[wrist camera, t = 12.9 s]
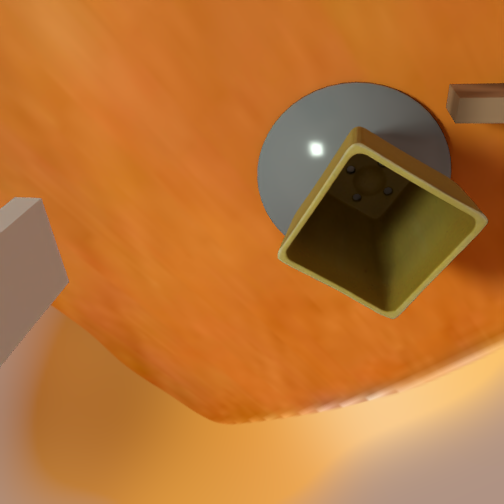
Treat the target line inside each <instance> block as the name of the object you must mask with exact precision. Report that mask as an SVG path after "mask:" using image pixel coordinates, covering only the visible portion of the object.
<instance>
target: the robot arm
mask: <svg viewBox="0 0 504 504" xmlns="http://www.w3.org/2000/svg"><path fill="white" fill-rule="evenodd" d="M68 283H69V280H68V277H67V274H66V271H65V268H64V265H63V262H62V259H61V256H60V253H59V250H58V247H57V244H56V241H55V238H54V235H53V232H52V229H51V226H50V223H49V220H48V217H47V214H46V211H45V208H44V205H43V202H42V199H41V198H21V197H15V198H13V199H12V200H11V201H10V202H8V203H7V204H6V205H4V206H3V207H2V208H1V209H0V367H1V366H2V364H3V363H4V362H5V361H6V359H7V358H8V357H9V356H10V354H11V353H12V352H13V351H14V349H15V348H16V347H17V346H18V344H19V343H20V342H21V341H22V340H23V338H24V337H25V336H26V334H27V333H28V332H29V331H30V330H31V328H32V327H33V326H34V325H35V323H36V322H37V321H38V320H39V319H40V317H41V316H42V315H43V314H44V312H45V311H46V310H47V309H48V307H49V306H50V305H51V304H52V302H53V301H54V300H55V299H56V297H57V296H58V295H59V294H60V292H61V291H62V290H63V289H64V288H65V286H66V285H67V284H68Z"/></svg>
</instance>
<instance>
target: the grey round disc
mask: <svg viewBox="0 0 504 504" xmlns="http://www.w3.org/2000/svg"><path fill="white" fill-rule="evenodd" d="M358 126H360V127H363V128H365V129H367V130H369V131H370V132H372V133H374V134H375V135H377V136H379V137H380V138H382V139H383V140H385V141H387V142H388V143H390V144H392V145H393V146H395V147H397V148H398V149H400V150H402V151H403V152H405V153H407V154H408V155H410V156H412V157H414V158H415V159H417V160H419V161H421V162H422V163H424V164H426V165H428V166H429V167H431V168H433V169H435V170H436V171H438V172H440V173H442V174H443V175H445V176H447V177H448V178H451V158H450V153H449V148H448V145H447V142H446V140H445V137H444V134H443V133H442V131H441V129H440V127H439V125H438V124H437V122H436V121H435V119H434V118H433V117H432V115H431V114H430V113H429V112H428V111H427V110H426V109H425V108H424V107H423V106H422V105H421V104H420V103H418V102H417V101H416V100H414V99H413V98H411V97H410V96H408V95H406V94H404V93H402V92H400V91H398V90H396V89H393V88H390V87H387V86H384V85H380V84H374V83H367V82H349V83H340V84H335V85H331V86H327V87H324V88H322V89H319V90H316V91H314V92H312V93H310V94H308V95H306V96H304V97H303V98H301V99H300V100H298V101H297V102H295V103H294V104H293V105H291V106H290V107H289V108H288V109H287V110H286V111H285V112H284V113H283V114H282V115H281V116H280V117H279V119H278V120H277V121H276V122H275V124H274V125H273V127H272V128H271V130H270V131H269V133H268V135H267V137H266V140H265V142H264V144H263V146H262V150H261V153H260V156H259V163H258V187H259V192H260V196H261V200H262V203H263V205H264V207H265V210H266V212H267V213H268V215H269V217H270V219H271V220H272V222H273V223H274V224H275V225H276V227H277V228H278V229H279V230H280V231H281V232H282V233H283V234H284V235H286V233H287V231H288V228H289V226H290V224H291V222H292V219H293V217H294V215H295V214H296V212H297V211H298V209H299V208H300V206H301V205H302V203H303V202H304V201H305V199H306V198H307V196H308V195H309V193H310V192H311V190H312V189H313V187H314V186H315V184H316V183H317V182H318V180H319V179H320V177H321V176H322V174H323V173H324V171H325V170H326V168H327V167H328V165H329V163H330V162H331V160H332V159H333V157H334V156H335V154H336V153H337V151H338V150H339V148H340V147H341V145H342V143H343V142H344V140H345V139H346V137H347V136H348V134H349V133H350V131H351V130H352V129H353V128H355V127H358ZM379 165H380V166H384V165H382V164H381V163H379ZM354 171H355V168H354V167H353V166H349V167H348V168H347V172H348V173H353V172H354ZM391 192H392V189H391V188H389V187H388V188H385V189H384V193H385V194H390V193H391ZM360 198H361V196H360V195H359V194H355V195H354V196H353V199H354V200H359V199H360Z"/></svg>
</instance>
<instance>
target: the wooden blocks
mask: <svg viewBox="0 0 504 504" xmlns="http://www.w3.org/2000/svg"><path fill="white" fill-rule="evenodd" d="M446 108H447V110H448V112H449V113H450V115H451V117H452V118H453V120H454V122H455V123H504V83H500V84H450V87H449V93H448V99H447V105H446Z"/></svg>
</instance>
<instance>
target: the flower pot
mask: <svg viewBox="0 0 504 504" xmlns="http://www.w3.org/2000/svg"><path fill="white" fill-rule="evenodd" d="M379 163H381V164H382V165H384V166H380V165H379ZM349 166H353V167H354V168H355V171H354V172H353V173H348V172H347V168H348V167H349ZM388 187H389V188H391V189H392V192H391V193H390V194H385V193H384V189H385V188H388ZM355 194H359V195H360V196H361V198H360V199H359V200H354V199H353V196H354V195H355ZM487 223H488V219H487V217H486V216H485V215H484V214H483V213H482V211H481V210H480V209H479V208H478V207H477V205H476V204H475V203H474V202H473V201H472V200H471V199H470V197H469V196H468V195H467V194H466V193H465V192H464V191H463V190H462V189H461V187H460V186H459V185H458V184H456V183H455V182H454V181H453V180H451V179H450V178H448V177H447V176H445V175H443V174H442V173H440V172H438V171H436V170H435V169H433V168H431V167H429V166H428V165H426V164H424V163H422V162H421V161H419V160H417V159H415V158H414V157H412V156H410V155H408V154H407V153H405V152H403V151H402V150H400V149H398V148H397V147H395V146H393V145H392V144H390V143H388V142H387V141H385V140H383V139H382V138H380V137H379V136H377V135H375V134H374V133H372V132H370V131H369V130H367V129H365V128H363V127H360V126H358V127H355V128H353V129H352V130H351V131H350V133H349V134H348V136H347V137H346V139H345V140H344V142H343V143H342V145H341V147H340V148H339V150H338V151H337V153H336V154H335V156H334V157H333V159H332V160H331V162H330V163H329V165H328V167H327V168H326V170H325V171H324V173H323V174H322V176H321V177H320V179H319V180H318V182H317V183H316V184H315V186H314V187H313V189H312V190H311V192H310V193H309V195H308V196H307V198H306V199H305V201H304V202H303V203H302V205H301V206H300V208H299V209H298V211H297V212H296V214H295V215H294V217H293V219H292V222H291V224H290V226H289V228H288V231H287V233H286V235H285V238H284V240H283V242H282V244H281V247H280V249H279V252H278V259H279V260H280V261H282V262H284V263H285V264H287V265H289V266H291V267H293V268H295V269H297V270H298V271H300V272H302V273H305V274H307V275H309V276H311V277H313V278H314V279H316V280H318V281H320V282H322V283H324V284H327V285H328V286H330V287H332V288H334V289H336V290H338V291H340V292H342V293H343V294H345V295H347V296H349V297H350V298H352V299H354V300H355V301H357V302H359V303H361V304H363V305H364V306H366V307H368V308H370V309H372V310H373V311H375V312H377V313H379V314H381V315H383V316H386V317H388V318H391V319H395V318H396V317H398V316H399V315H400V314H401V313H402V312H403V311H404V310H405V309H406V308H407V307H408V306H409V305H410V304H411V303H412V302H413V301H414V300H415V299H416V297H417V296H418V295H419V294H420V293H421V292H422V291H423V290H424V289H425V288H426V287H427V286H428V285H429V284H430V283H431V282H432V281H433V280H434V279H435V278H436V277H437V276H438V275H439V274H440V272H441V271H442V270H443V269H445V268H446V267H447V266H448V265H449V263H450V262H451V261H452V260H453V259H454V258H455V257H456V256H457V255H458V254H459V253H460V252H461V251H462V250H464V248H465V247H466V246H467V245H468V244H469V243H470V242H471V241H472V240H473V239H474V238H475V237H476V236H477V235H478V234H479V233H480V232H481V231H482V229H483V228H484V227H485V226H486V225H487Z"/></svg>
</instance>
